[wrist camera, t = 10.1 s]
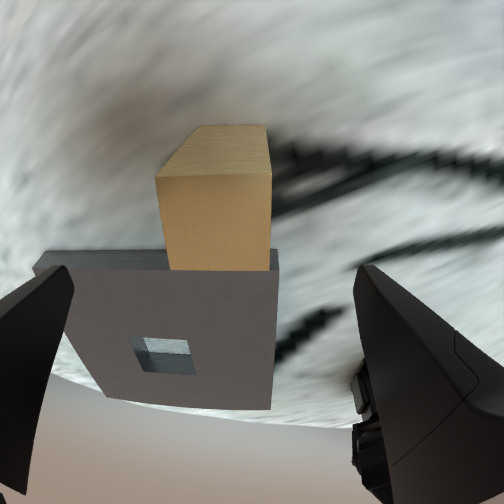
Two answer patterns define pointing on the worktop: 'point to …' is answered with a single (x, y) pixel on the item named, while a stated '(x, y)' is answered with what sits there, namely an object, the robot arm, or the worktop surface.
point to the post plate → (172, 328)
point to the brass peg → (218, 200)
